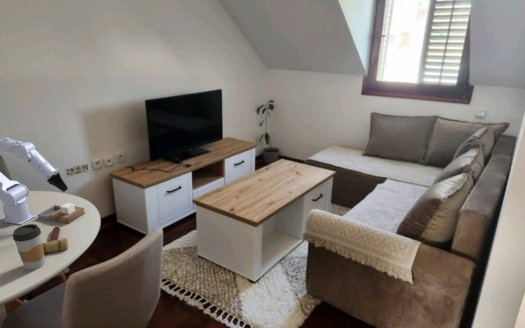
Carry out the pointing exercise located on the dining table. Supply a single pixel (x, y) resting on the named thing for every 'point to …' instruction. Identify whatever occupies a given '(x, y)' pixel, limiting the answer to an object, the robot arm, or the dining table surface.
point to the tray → (48, 212)
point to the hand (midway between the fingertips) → (65, 189)
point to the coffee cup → (30, 246)
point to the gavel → (55, 242)
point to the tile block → (67, 208)
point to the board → (66, 215)
